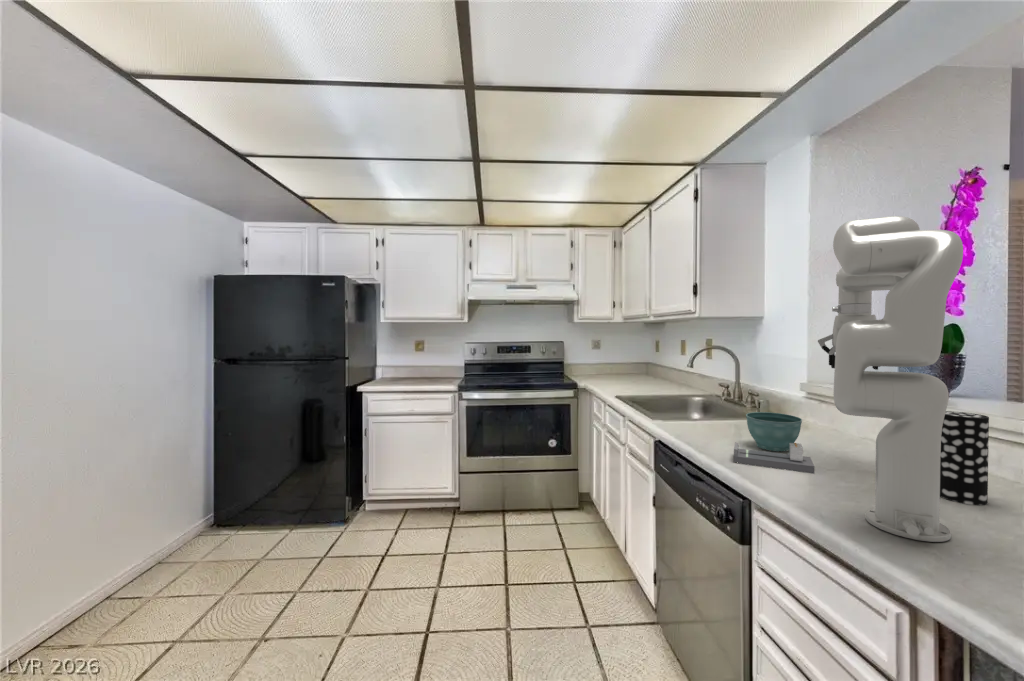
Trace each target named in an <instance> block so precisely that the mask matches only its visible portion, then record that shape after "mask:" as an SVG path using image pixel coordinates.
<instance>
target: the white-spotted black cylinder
mask: <svg viewBox="0 0 1024 681" xmlns="http://www.w3.org/2000/svg"><path fill="white" fill-rule="evenodd" d="M989 428H990V417H989V416H988V415H984V414H979V413H972V412H965V411H964V412H963V411H951V410H950V411H949V410H948V411H947V410H946V413H945V417H944V421H943V426H942V434H941V457H940V498H943V499H946V500H948V501H952V502H956V503H960V504H964V505H971V506H972V505H973V506H985V505H986V506H987V505H988V504H987V503H988V502H989V499H988V496H989V495H988V494H989V492H988V491H989V488H988V487H989V442H990V439H989V437H990V436H989V432H990V429H989Z"/></svg>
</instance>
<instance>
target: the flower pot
mask: <svg viewBox="0 0 1024 681" xmlns="http://www.w3.org/2000/svg"><path fill="white" fill-rule="evenodd" d="M745 417H746V425H747V429H748V432H749V434H750V436H751V437H752V439H753V440H754V441H755V442H756V447H758V448H759V449H762V450H765V449H766V451H770V450H771V452H779V451H781V452H780V453H782V451H784V452H789V443H796V441H797V439H798V438H799V435H800V433H801V427H802V424H803V423H802V422H803V419H802V418H800V417H798V416H795V415H792V414H786V413H780V412H769V411H762V412H761V411H757V412H754V411H753V412H748V413H746V414H745Z"/></svg>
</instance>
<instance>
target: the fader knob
mask: <svg viewBox="0 0 1024 681" xmlns="http://www.w3.org/2000/svg"><path fill="white" fill-rule="evenodd" d="M788 454H789V457H790V460H794V461H802V462H803V456H804V447H803V445H802V443H798V442H794V443H789V451H788Z"/></svg>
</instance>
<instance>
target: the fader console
mask: <svg viewBox="0 0 1024 681" xmlns="http://www.w3.org/2000/svg"><path fill="white" fill-rule="evenodd" d="M734 462H738V463H737V464H740V463H742V464H741V465H747V464H749V465H748V466H755V465H756V466H755V467H762V466H764V468H770V467H772V468H771V469H777V468H779V470H784V469H786V470H785V471H792V470H793V471H794V472H800V473H809V474H815V465H814V462H813V460H812V458H811V456H804V455H803V462H802V461H794V460H790V457H789V453H787V454H786V453H782V452H779V453H778V452H773V451H771V452H770V451H762V450H755V449H746V448H739V442H734V447H733V463H734Z"/></svg>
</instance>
